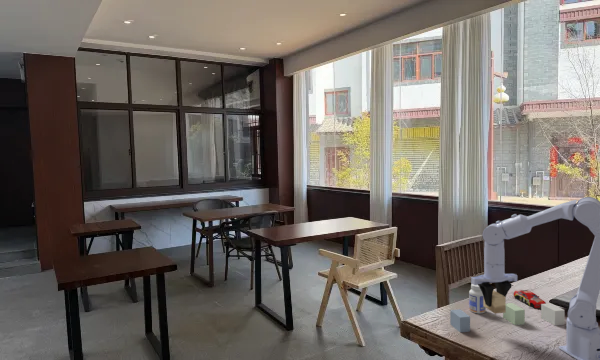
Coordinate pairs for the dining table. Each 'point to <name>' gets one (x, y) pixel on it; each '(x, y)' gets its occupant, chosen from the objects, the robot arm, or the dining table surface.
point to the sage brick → (514, 314)
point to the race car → (528, 298)
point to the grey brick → (552, 314)
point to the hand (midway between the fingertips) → (494, 304)
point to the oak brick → (497, 303)
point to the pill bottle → (476, 300)
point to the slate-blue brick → (460, 320)
